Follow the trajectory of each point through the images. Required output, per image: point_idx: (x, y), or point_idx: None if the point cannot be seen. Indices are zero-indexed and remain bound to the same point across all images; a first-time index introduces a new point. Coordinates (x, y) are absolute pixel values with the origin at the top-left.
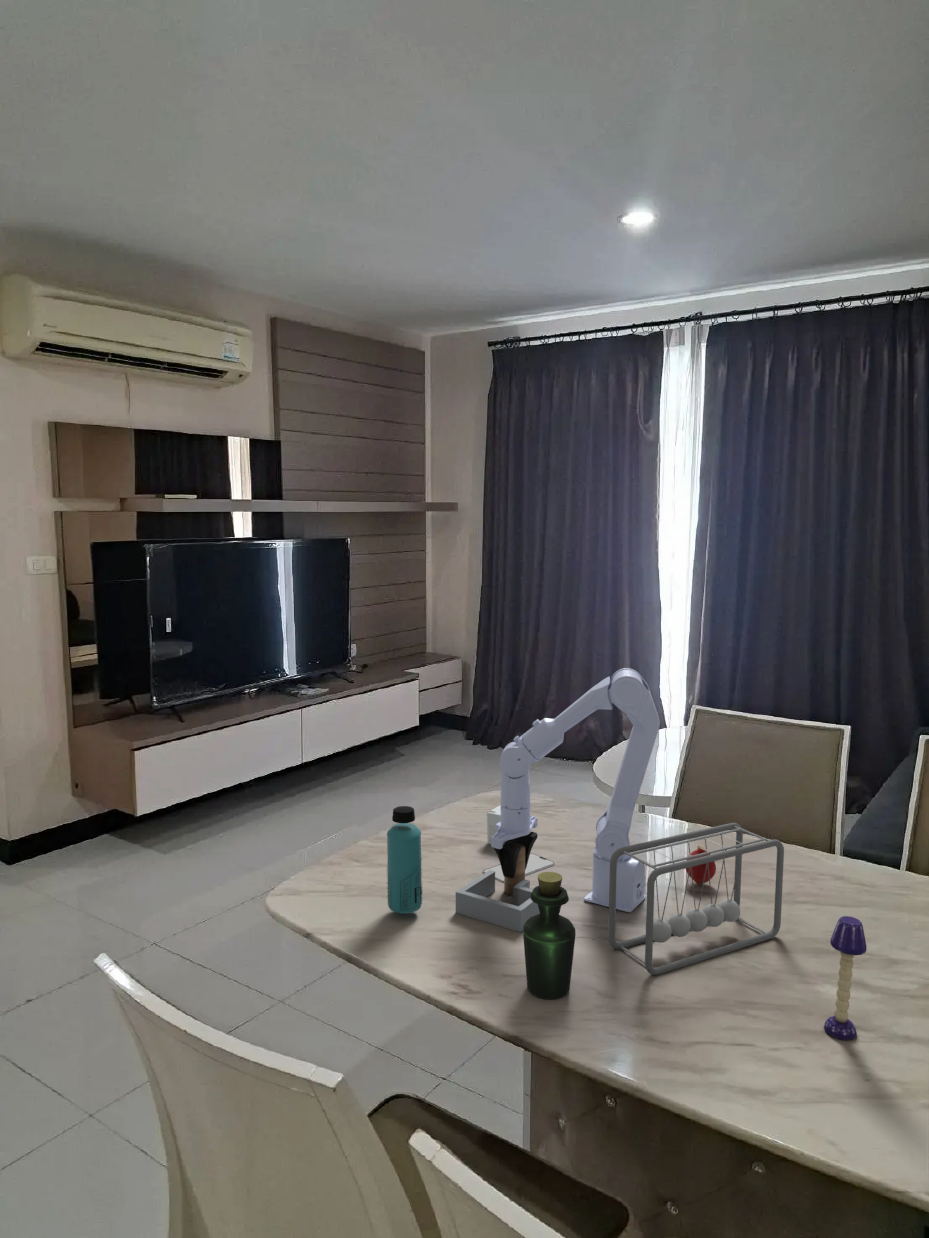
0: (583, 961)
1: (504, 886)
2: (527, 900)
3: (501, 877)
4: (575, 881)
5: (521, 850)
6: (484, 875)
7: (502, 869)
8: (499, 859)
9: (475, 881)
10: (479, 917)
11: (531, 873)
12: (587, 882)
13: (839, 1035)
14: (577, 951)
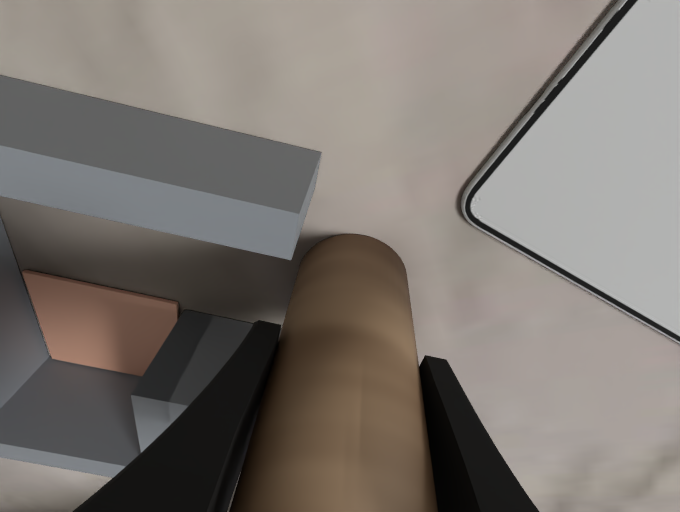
0: (37, 482)
1: (323, 256)
2: (52, 454)
3: (526, 173)
4: (527, 444)
5: None
6: (166, 204)
7: (232, 356)
8: (169, 428)
9: (3, 171)
10: None
11: (616, 305)
12: (523, 468)
13: None
14: (66, 472)
